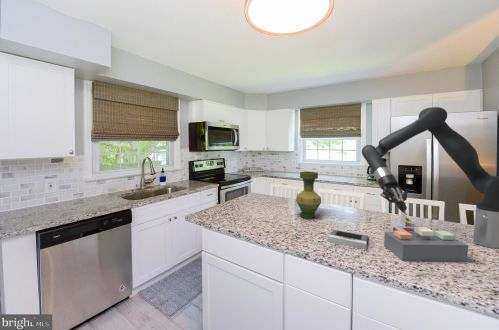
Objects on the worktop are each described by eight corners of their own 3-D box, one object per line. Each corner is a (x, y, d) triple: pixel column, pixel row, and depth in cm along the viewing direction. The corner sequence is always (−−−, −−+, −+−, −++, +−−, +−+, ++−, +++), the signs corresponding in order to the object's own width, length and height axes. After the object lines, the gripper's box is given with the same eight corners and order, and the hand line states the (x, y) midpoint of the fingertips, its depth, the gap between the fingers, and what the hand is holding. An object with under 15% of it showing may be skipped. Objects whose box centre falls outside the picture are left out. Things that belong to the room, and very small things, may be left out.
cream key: (424, 238, 104) (425, 227, 103) (433, 243, 99) (434, 231, 98) (413, 238, 104) (414, 227, 103) (421, 243, 99) (422, 231, 98)
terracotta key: (404, 242, 104) (405, 230, 104) (411, 247, 99) (412, 234, 99) (393, 242, 104) (393, 230, 104) (399, 246, 99) (400, 234, 99)
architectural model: (407, 224, 140) (407, 212, 139) (412, 228, 133) (413, 215, 132) (400, 223, 140) (401, 211, 140) (406, 227, 134) (406, 215, 133)
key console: (440, 246, 108) (441, 232, 107) (466, 261, 94) (468, 245, 94) (383, 245, 109) (384, 231, 108) (402, 260, 95) (403, 244, 95)
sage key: (445, 242, 103) (445, 230, 103) (454, 247, 98) (455, 235, 98) (433, 242, 104) (434, 230, 103) (442, 247, 99) (443, 235, 98)
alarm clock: (327, 236, 114) (334, 223, 127) (327, 244, 114) (334, 231, 128) (366, 243, 105) (368, 229, 119) (366, 253, 106) (368, 237, 119)
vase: (290, 217, 153) (291, 172, 150) (304, 212, 163) (305, 170, 161) (312, 223, 141) (313, 175, 138) (325, 217, 151) (326, 172, 149)
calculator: (437, 236, 111) (404, 233, 113) (436, 245, 112) (403, 242, 113) (422, 228, 122) (393, 226, 124) (421, 236, 123) (392, 233, 124)
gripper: (376, 174, 107) (395, 206, 96) (402, 173, 109) (423, 205, 98) (369, 183, 113) (385, 215, 102) (393, 182, 115) (412, 213, 104)
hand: (404, 210), depth 100 cm, fingers closed
